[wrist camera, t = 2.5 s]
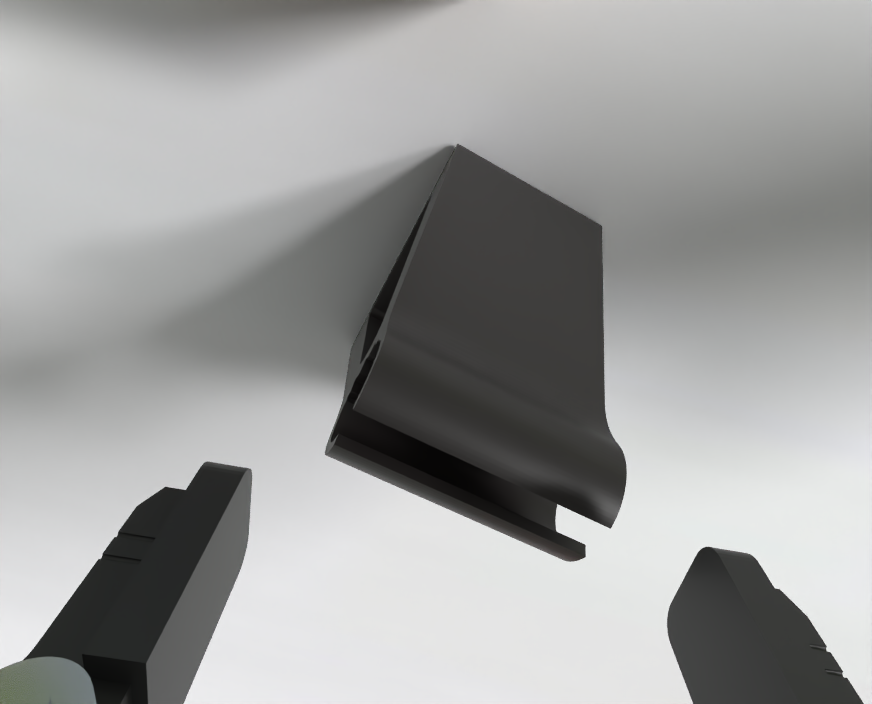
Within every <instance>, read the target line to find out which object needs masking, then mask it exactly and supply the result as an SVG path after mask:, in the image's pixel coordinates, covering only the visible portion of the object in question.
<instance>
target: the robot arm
mask: <svg viewBox="0 0 872 704" xmlns="http://www.w3.org/2000/svg"><path fill="white" fill-rule="evenodd" d="M251 486H252V472H251V469H249V468H243V467H237V466H231V465H225V464H219V463H213V462H205V463H204V464H203V465H202V466H201V467H200V469H199V470H198V472H197V474H196V475H195V477H194V478H193V480H192V481H191V483H190V485H189V486H188V488H187V489H186V490H181V489H175V488H169V487H164V488H163V489H162V490H160V491H159V492H157V493H156V494H154V495H153V496H151V497H150V498H148V499H147V500H145V501H144V502H143V503H141V504H140V505H138V506H137V507H136V508H135V510H134V511H133V512H132V514H131V515H130V517H129V518H128V519H127V521H126V522H125V524H124V525H123V526H122V528H121V529H120V530H119V532H118V536H117V537H114V539H113V540H112V541H111V543H110V544H109V546H108V547H107V548H106V550H105V551H104V552H103V556H102V558H101V559H98V561H97V562H96V564H95V565H94V566H93V568H92V569H91V570H90V572H89V573H88V575H87V576H86V577H85V579H84V580H83V581H82V583H81V584H80V586H79V587H78V588H77V590H76V591H75V592H74V594H73V595H72V597H71V598H70V599H69V601H68V602H67V604H66V605H65V606H64V608H63V609H62V610H61V612H60V613H59V615H58V616H57V617H56V619H55V620H54V621H53V623H52V624H51V626H50V627H49V628H48V630H47V631H46V632H45V634H44V635H43V637H42V638H41V639H40V641H39V642H38V644H37V645H36V646H35V647H34V649H33V650H32V651H31V652H30V653H29V655H28V656H27V657H26V658H25V659H24V660H23V661H20V662H17V663H14V664H12V665H9V666H7V667H5V668H2V669H0V704H183V703H184V701H185V699H186V696H187V694H188V692H189V689H190V687H191V685H192V682H193V680H194V677H195V675H196V673H197V670H198V668H199V666H200V663H201V661H202V659H203V656H204V654H205V652H206V649H207V647H208V645H209V642H210V640H211V638H212V635H213V633H214V631H215V628H216V626H217V623H218V621H219V619H220V616H221V614H222V612H223V609H224V607H225V605H226V602H227V600H228V598H229V595H230V593H231V591H232V588H233V586H234V584H235V581H236V579H237V577H238V574H239V572H240V569H241V566H242V563H243V560H244V556H245V552H246V548H247V542H248V535H249V519H250V503H251ZM667 628H668V636H669V640H670V643H671V646H672V649H673V651H674V654H675V656H676V659H677V662H678V664H679V667H680V670H681V672H682V675H683V678H684V680H685V683H686V686H687V688H688V691H689V693H690V696H691V699H692V701H693V704H864V703H863V702H862V700H861V699H860V697H859V696H858V694H857V693H856V691H855V690H854V688H853V686H852V685H851V683H850V682H849V680H848V679H847V678H844V677H843V675H842V672H843V671H842V669H841V668H840V666H839V665H838V663H837V662H836V660H835V659H834V657H833V656H832V654H831V652H827V651H826V647H827V646H826V645H825V643H824V642H823V640H822V639H821V637H820V635H819V634H818V632H817V631H816V629H815V628H814V626H813V625H812V623H811V622H810V620H809V618H808V617H807V616H806V615H805V614H804V613H803V612H802V611H801V610H800V609H799V608H798V607H797V606H796V605H795V604H794V603H793V602H792V601H791V600H790V599H789V598H788V597H787V596H786V595H785V594H784V593H783V592H782V591H781V590H780V589H775V588H774V587H773V585H772V584H771V582H770V580H769V579H768V577H767V575H766V574H765V572H764V571H763V569H762V567H761V566H760V564H759V563H758V561H757V560H756V559H755V558H754V557H753V556H752V555H750V554H747V553H742V552H736V551H730V550H724V549H718V548H712V547H705V548H702V549H701V550H700V551H699V552H698V554H697V555H696V557H695V559H694V561H693V563H692V565H691V567H690V568H689V570H688V572H687V574H686V576H685V578H684V580H683V582H682V584H681V585H680V587H679V589H678V591H677V593H676V595H675V597H674V599H673V601H672V603H671V605H670V608H669V611H668V619H667Z"/></svg>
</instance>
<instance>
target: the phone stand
mask: <svg viewBox="0 0 872 704" xmlns="http://www.w3.org/2000/svg"><path fill="white" fill-rule="evenodd" d="M325 455H327V456H329V457H331V458H334V459H336V460H338V461H340V462H343V463H345V464H347V465H349V466H352V467H354V468H356V469H358V470H361V471H363V472H365V473H368V474H370V475H372V476H374V477H377V478H379V479H381V480H383V481H386V482H388V483H390V484H392V485H395V486H397V487H399V488H401V489H404V490H406V491H408V492H411V493H413V494H415V495H417V496H420V497H422V498H424V499H426V500H429V501H431V502H433V503H435V504H438V505H440V506H442V507H445V508H447V509H449V510H451V511H454V512H456V513H458V514H460V515H463V516H465V517H467V518H469V519H472V520H474V521H476V522H478V523H481V524H483V525H485V526H488V527H490V528H492V529H494V530H497V531H499V532H501V533H503V534H506V535H508V536H510V537H512V538H515V539H517V540H519V541H522V542H524V543H526V544H528V545H531V546H533V547H535V548H537V549H540V550H542V551H544V552H546V553H549V554H551V555H553V556H555V557H558V558H560V559H562V560H565V561H570V562H571V561H577V560H580V559H582V558H584V557H586V555H585V544H582V543H580V542H578V541H576V540H574V539H571V538H569V537H567V536H565V535H562V534H560V533H558V532H556V526H555V516H556V508H557V504H558V505H561V506H563V507H565V508H567V509H569V510H571V511H574V512H576V513H578V514H580V515H582V516H585V517H587V518H589V519H591V520H593V521H595V522H598V523H600V524H602V525H604V526H606V527H608V528H611V527H612V525H613V523H614V521H615V519H616V517H617V515H618V512H619V510H620V507H621V504H622V500H623V496H624V492H625V486H626V474H627V472H626V461H625V457H624V454H623V451H622V449H621V448H620V446H619V445H618V444H617V442H616V441H615V439H614V438H613V436H612V434H611V432H610V430H609V427H608V424H607V419H606V414H605V392H604V328H603V264H602V226H601V225H599V224H598V223H596V222H594V221H592V220H591V219H589V218H587V217H585V216H584V215H582V214H580V213H578V212H577V211H575V210H573V209H571V208H570V207H568V206H566V205H564V204H563V203H561V202H559V201H557V200H556V199H554V198H552V197H550V196H549V195H547V194H545V193H543V192H541V191H540V190H538V189H536V188H534V187H533V186H531V185H529V184H527V183H526V182H524V181H522V180H520V179H519V178H517V177H515V176H513V175H512V174H510V173H508V172H506V171H505V170H503V169H501V168H499V167H498V166H496V165H494V164H492V163H491V162H489V161H487V160H485V159H484V158H482V157H480V156H478V155H477V154H475V153H473V152H471V151H470V150H468V149H466V148H464V147H463V146H461V145H459V144H457V146H456V147H455V149H454V151H453V153H452V155H451V157H450V159H449V161H448V162H447V164H446V166H445V168H444V170H443V172H442V174H441V176H440V178H439V180H438V182H437V184H436V186H435V188H434V189H433V191H432V193H431V195H430V197H429V199H428V201H427V203H426V205H425V207H424V209H423V211H422V213H421V215H420V216H419V218H418V220H417V222H416V224H415V226H414V228H413V230H412V232H411V234H410V236H409V238H408V240H407V242H406V243H405V245H404V247H403V250H402V252H401V254H400V255H399V257H398V259H397V261H396V263H395V265H394V267H393V269H392V270H391V272H390V274H389V276H388V278H387V280H386V282H385V284H384V286H383V288H382V290H381V292H380V294H379V296H378V297H377V299H376V301H375V303H374V305H373V307H372V309H371V311H370V313H369V315H368V317H367V319H366V321H365V322H364V324H363V326H362V328H361V330H360V332H359V334H358V336H357V338H356V340H355V342H354V344H353V346H352V348H351V353H350V359H349V365H348V372H347V378H346V385H345V391H344V397H343V402H342V405H341V408H340V411H339V414H338V417H337V419H336V422H335V425H334V427H333V430H332V432H331V435H330V438H329V440H328V443H327V446H326V450H325Z"/></svg>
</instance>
